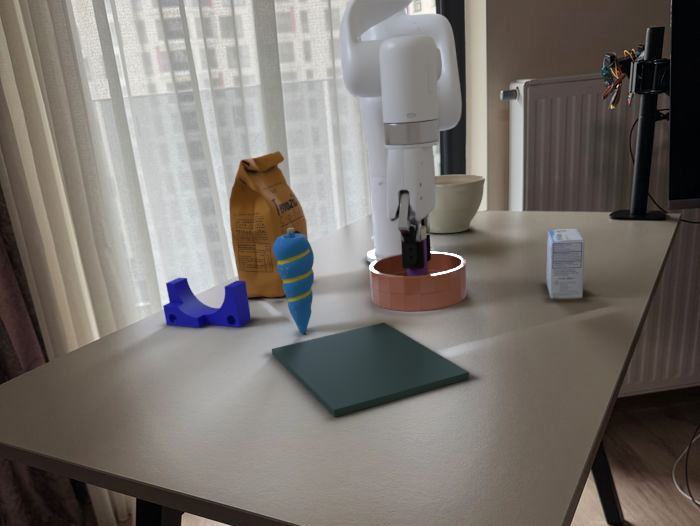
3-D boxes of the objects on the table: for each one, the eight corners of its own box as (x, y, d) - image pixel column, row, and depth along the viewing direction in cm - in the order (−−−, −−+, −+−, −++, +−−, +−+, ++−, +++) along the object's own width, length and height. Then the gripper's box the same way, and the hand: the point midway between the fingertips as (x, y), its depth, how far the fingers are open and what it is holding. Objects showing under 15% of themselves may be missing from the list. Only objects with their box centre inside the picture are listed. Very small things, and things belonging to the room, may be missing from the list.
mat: (272, 354, 82) (271, 348, 81) (384, 327, 87) (384, 322, 87) (334, 417, 65) (333, 410, 64) (469, 378, 70) (469, 372, 70)
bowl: (356, 297, 101) (353, 262, 99) (434, 280, 107) (433, 247, 104) (400, 321, 89) (398, 283, 87) (485, 301, 94) (485, 264, 92)
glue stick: (404, 292, 99) (400, 227, 95) (421, 288, 100) (419, 224, 96) (414, 297, 96) (411, 230, 92) (432, 293, 97) (430, 227, 93)
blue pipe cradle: (166, 324, 96) (159, 286, 94) (185, 315, 100) (178, 277, 98) (233, 330, 91) (227, 290, 89) (251, 320, 95) (245, 281, 93)
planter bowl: (498, 230, 137) (498, 178, 133) (427, 241, 133) (425, 187, 129) (464, 219, 151) (464, 171, 147) (400, 228, 147) (397, 179, 143)
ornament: (292, 342, 85) (278, 229, 79) (278, 332, 89) (263, 224, 84) (327, 334, 87) (316, 222, 82) (312, 324, 91) (300, 217, 86)
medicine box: (582, 301, 91) (585, 240, 88) (549, 301, 92) (551, 241, 89) (576, 284, 98) (578, 227, 95) (545, 285, 99) (547, 229, 96)
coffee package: (322, 282, 111) (309, 148, 103) (282, 304, 101) (264, 158, 93) (274, 278, 116) (258, 151, 108) (232, 299, 106) (210, 160, 98)
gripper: (401, 130, 98) (407, 250, 105) (366, 143, 84) (375, 280, 91) (450, 128, 95) (453, 250, 102) (423, 140, 81) (428, 281, 88)
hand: (416, 263), depth 96 cm, fingers closed on glue stick, 3 cm apart
